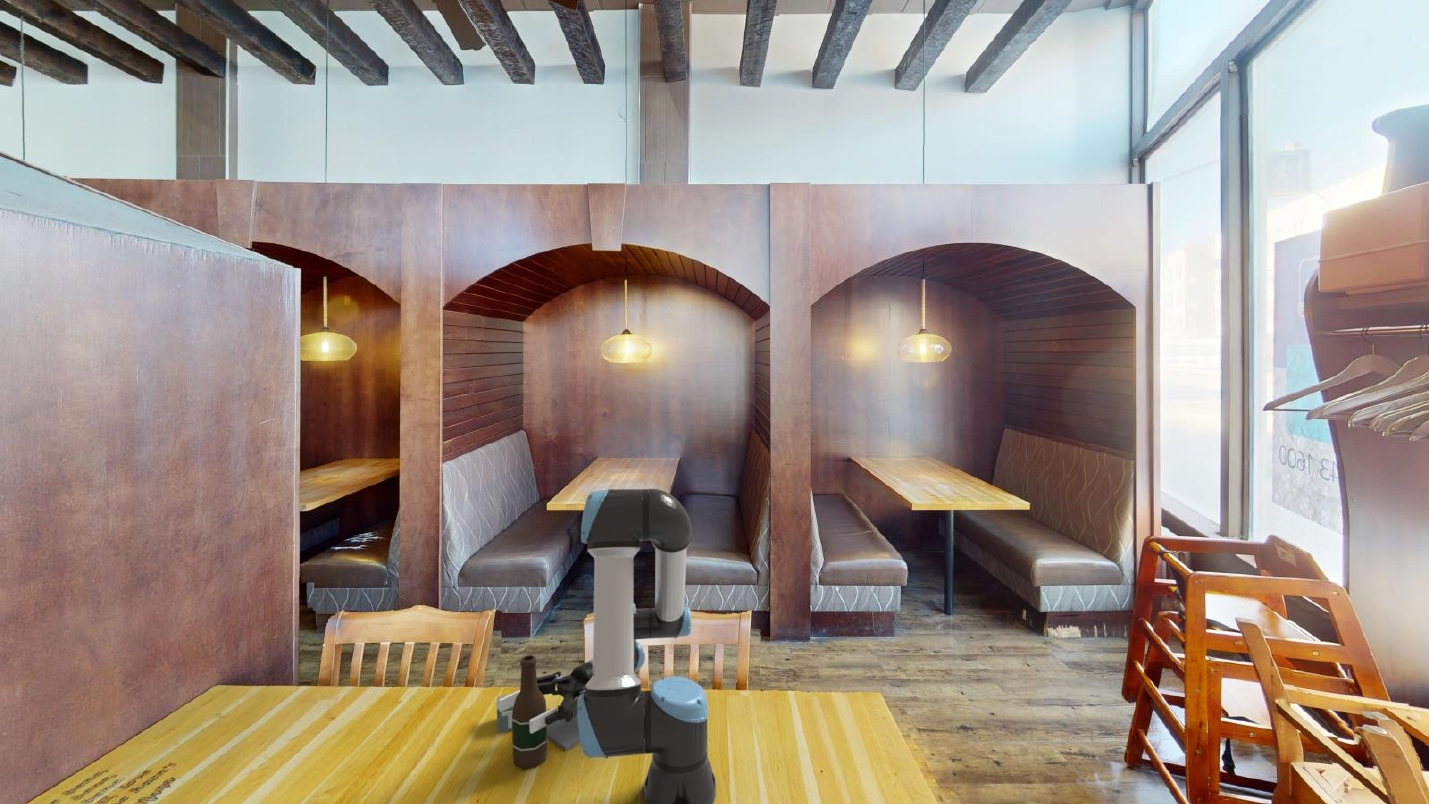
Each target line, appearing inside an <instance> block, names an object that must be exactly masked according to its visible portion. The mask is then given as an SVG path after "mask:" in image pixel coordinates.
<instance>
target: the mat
mask: <svg viewBox="0 0 1429 804" xmlns="http://www.w3.org/2000/svg"><path fill="white" fill-rule="evenodd" d="M548 739H549V740H550V741H551V742H553V743H555V744H556V745H557V746H559V747H560V748H561V749H562V750H565V751H568V750H571V749H572V748H574V747H575V746H577V745H578V744H580V738H579V730H578V719H577V715H576V716H575V717H574V718H573V719H572V720H571V721H570V722H566V721H565V719H563V720H557V721H556V722H554V723H552V724H550V725H547V740H548Z"/></svg>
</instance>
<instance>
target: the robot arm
mask: <svg viewBox="0 0 1429 804" xmlns="http://www.w3.org/2000/svg"><path fill="white" fill-rule="evenodd" d="M580 529H581V531H580V541H581V543H582V544H585V545H586V544H587V552H588V553H589V554H590V556H591V557H593V558H594V559H593V560H594V569H593V570H594V571H593V572H594V577H593V578H594V579H593V582H594V583H593V633H592V635H593V637H592V638H593V639H592V640H593V641H592V659H590V660H588V661H586V662H583V663H582V664H579V665H578V666H575V667H574V668H573V669H572V672H571V673H570V674H568V675H565V676H563V675H562V672H561V671H560V670H559V671H556V672H554V673H551V674H547V675H543V676H540V677H537V685H538V689H539V690H540V692H541V693H542V694H543V695H552V696H560V697H562V698H563V699H562V701H561V702H560V705H557V707H556V706H555V707H552V708H550V709H548V710H546V712H544V713H542V714H540V715H539V716H537V717H535V718H533V719H531V720H529V728H530V733H531V734H532V733H534V732H536V731H537V730H539V729H541V728H543V727H545V726H546V725H550V724H552V723H554V722H556V721H557V720H563V719H565V721H566V722H570V721H571V720H572V719H573V718H574V717H575V716H576V715H577V719H578V730H579V738H580V743H579V744H580V747H581V751H582V753H583V754H584V756H586V757H588V758H604V759H608V758H612V757H613V758H614V757H625V756H637V755H646V754H647V755H648V754H652V755H651V757H652V758H651V761H650V765H649V767H648V772H647V775H646V777H645V780H644V785H643V799H644V802H645V804H714V802H715V800H716V796H717V792H716V791H717V783H716V782H717V781H716V777H715V774H714V773H713V770H712V769H713V768H712V765H711V763H710V759H709V756H708V755H709V754H708V747H709V746H708V743H709V742H708V717H709V709H708V697H707V693H706V692H705V690H704V688H703V687H702V686H701V685H700V684H698V683H697V682H695V681H694V680H692V679H689V678H685V677H682V676H666V677H663V678H661V679H658V680H656V681H655V682H653V685H652V687H651V688H650V690H642V681H641V680H640V679H639V677H637V675H636V674H635V672H637V671H638V670H640V669H641V668H642V667H643V666H644V664H645V661H646V654H645V652H644V648H643V646H642V645H641V643H640V642H638V641H637V640H646V639H648V640H649V639H650V640H651V639H669V638H671V639H672V638H673V639H677V638H680V637H688V636H689V635H690V634H691V633H692V615H691V608H690V607H688V606H685V597H686V596H685V595H686V594H685V593H686V578H687V577H686V576H687V575H686V572H687V552H688V551H687V550H688V548H689V546H690V545H691V543H692V538H693V537H692V536H693V528H692V523H691V519H690V517H689V514H688V512H687V510H686V509H685V508H684V506H683V505H682V503H680V501H679V500H678V499H677V498H676V497H674V496H673V495H672V494H670V493H669V492H666V491H665V490H663V489H662V490H661V489H659V488H647V489H646V488H645V489H644V488H638V489H637V488H636V489H635V488H634V489H633V488H629V489H628V488H627V489H626V488H623V489H622V488H618V489H616V488H615V489H610V488H609V489H604V490H603V489H602V490H594V491H591V492H590V493H589V494H588V495H587V498H586V500H585V504H584V509H583V512H582V519H581V527H580ZM645 541H646V542H649V541H651V544H652V546H653V547H654V548H655V549H654V551H655V553H654V554H655V556H654V557H655V559H654V560H655V564H654V565H655V567H654V568H655V569H654V571H655V574H654V575H655V580H654V582H655V584H654V585H655V587H654V588H655V591H654V595H655V597H654V608H653V607H651V608H637V607H636V604H635V603H634V600H635V599H634V595H635V594H634V585H635V584H634V558H635V556H636V555H637V553H638V552H639V551H640V550H641V542H645ZM519 692H520V688H519V689H517V690H515V691H513V692H511V693H510V695H509V694H506V695H507V696H505V697H503V698H501V699H499V711H500V712H502V711H504V710H506V709H508V708H510V707H512V706H514V703H515V700H516V697H517V695H518V694H519Z"/></svg>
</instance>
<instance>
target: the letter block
mask: <svg viewBox="0 0 1429 804" xmlns="http://www.w3.org/2000/svg"><path fill="white" fill-rule="evenodd" d="M510 694H511V693H510ZM510 694H509V693H508V694H506V695H505V694H504V695H498V696H497V697H496V726H497V727H496V730H497V733H503V732H508V731H512V711H513V707H514V706H512V707H510V708H508V709H506V710H504V711H502V712H500V711H499V699H501V698H503V697H505V696H507V695H510Z"/></svg>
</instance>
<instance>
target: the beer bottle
mask: <svg viewBox="0 0 1429 804" xmlns="http://www.w3.org/2000/svg"><path fill="white" fill-rule="evenodd" d="M537 661H538V660H537V657H536V656H535V655H533V654H529V655H527V654H526V655H524V656H523V657H521V659H520V663H519V665H520V667H521V668H520V684H519V685H520V688H519V689H520V692H519V694H518V695H517V697H516V700H515V703H514V707H513V711H512V730H511V731H512V760H513V765H514V766H515V767H516V768H519V769H520V770H529V769H536V768H538V767H539V766H540V765H542V764H544V763H545V761H546V760H547V754H548V753H547V751H548V738H547V725H546V726H545V727H543V728H541V729H539V730H537V731H536V732H534V733H532V734H531V733H530V728H529V720H531V719H533V718H535V717H537V716H539V715H540V714H542V713H544V712H546V711H547V701H546V698H545V696H544V695H543V694H542V693H541V692H540V690H539V689H538V685H537V678H538V677H537V676H538V675H537V667H536V664H537Z"/></svg>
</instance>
